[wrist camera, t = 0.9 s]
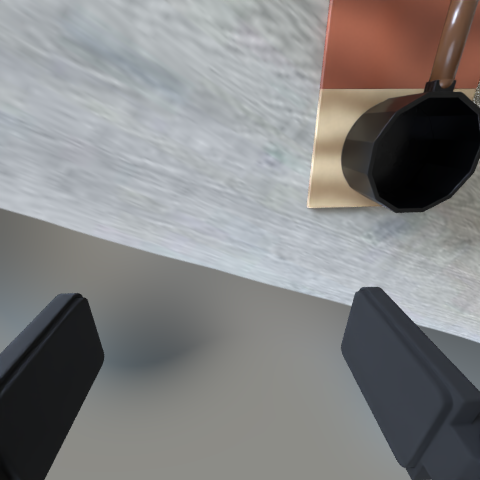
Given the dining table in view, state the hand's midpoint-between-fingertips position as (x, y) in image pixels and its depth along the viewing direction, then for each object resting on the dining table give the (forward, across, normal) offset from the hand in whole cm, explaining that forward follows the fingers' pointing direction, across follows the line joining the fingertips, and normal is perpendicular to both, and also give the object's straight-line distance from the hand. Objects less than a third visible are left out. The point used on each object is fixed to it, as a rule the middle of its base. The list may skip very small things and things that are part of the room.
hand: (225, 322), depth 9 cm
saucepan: (+26, -21, -9) cm, 35 cm away
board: (+27, -21, -10) cm, 36 cm away
